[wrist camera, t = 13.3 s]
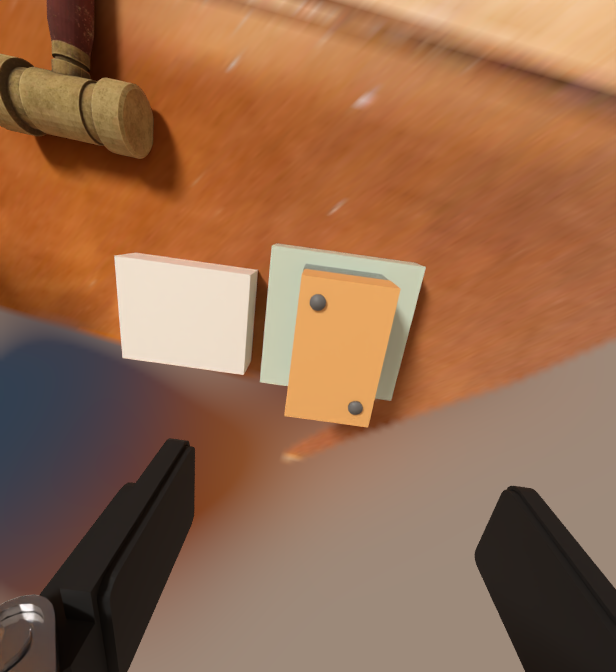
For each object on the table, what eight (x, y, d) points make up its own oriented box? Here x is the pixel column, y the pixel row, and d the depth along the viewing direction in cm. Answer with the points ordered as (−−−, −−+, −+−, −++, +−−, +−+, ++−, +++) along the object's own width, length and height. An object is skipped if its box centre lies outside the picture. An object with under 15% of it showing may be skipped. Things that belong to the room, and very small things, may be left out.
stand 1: (141, 345, 30) (122, 357, 28) (135, 252, 27) (114, 255, 25) (251, 361, 30) (243, 375, 28) (257, 269, 27) (250, 275, 25)
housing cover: (304, 268, 21) (301, 275, 18) (390, 280, 21) (401, 289, 18) (288, 394, 25) (283, 417, 22) (362, 404, 25) (368, 429, 22)
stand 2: (265, 367, 31) (259, 382, 28) (277, 243, 27) (271, 245, 24) (384, 384, 31) (391, 400, 28) (415, 262, 27) (425, 267, 24)
